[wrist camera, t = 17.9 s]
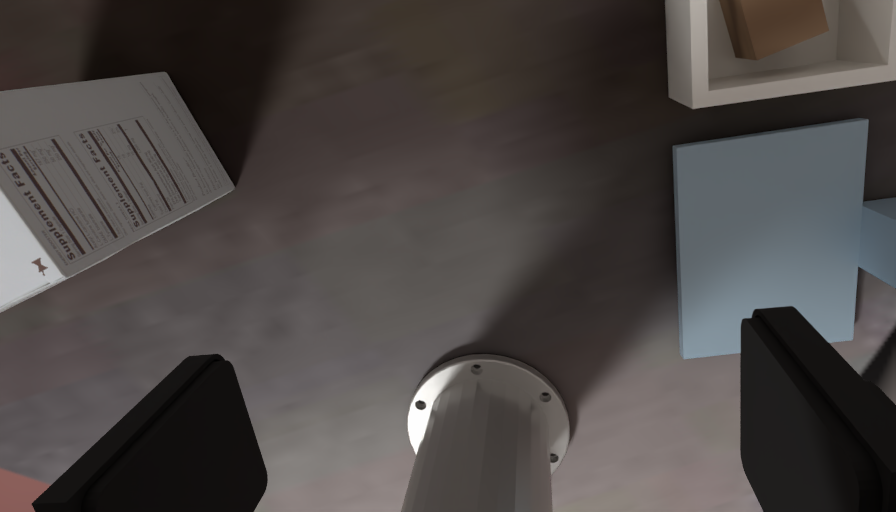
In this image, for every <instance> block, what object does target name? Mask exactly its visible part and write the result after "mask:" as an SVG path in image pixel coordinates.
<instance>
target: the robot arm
mask: <svg viewBox="0 0 896 512" xmlns="http://www.w3.org/2000/svg"><path fill="white" fill-rule="evenodd" d="M475 364H476V365H479V366H476V365H475ZM543 392H547V393H543ZM407 431H408V436H409V440H410V443H411V445H412V448H413V450H414V452H415V454H416V459H415V462H414V466H413V470H412V473H411V477H410V481H409V484H408V488H407V492H406V495H405V499H404V502H403V506H402V510H401V512H552V488H551V475H552V474H553V473H554V472H555V470H556V469H557V468H558V467H559V465H560V464H561V462H562V460H563V458H564V457H565V455H566V453H567V449H568V445H569V440H570V425H569V417H568V412H567V409H566V406H565V403H564V400H563V399H562V397H561V396H560V394H559V392H558V391H557V389H556V388H555V387H554V385H553V384H552V383H551V382H550V381H549V380H548V379H547V378H546V377H545V376H544V375H542V374H541V373H540V372H538V371H537V370H536V369H534V368H533V367H531V366H529V365H527V364H525V363H523V362H521V361H518V360H515V359H512V358H509V357H505V356H500V355H492V354H472V355H467V356H463V357H458V358H455V359H452V360H450V361H448V362H445V363H443V364H441V365H440V366H438V367H437V368H435V369H434V370H432V371H431V372H430V373H429V374H428V375H427V376H426V377H425V378H424V379H423V380H422V381H421V382H420V384H419V385H418V387H417V389H416V390H415V392H414V394H413V397H412V400H411V402H410V406H409V410H408V414H407ZM740 450H741V460H742V464H743V468H744V471H745V474H746V476H747V478H748V480H749V482H750V484H751V487H752V489H753V491H754V493H755V495H756V497H757V499H758V501H759V503H760V505H761V507H762V509H763V511H764V512H896V405H895V404H894V403H893V402H892V401H891V400H890V399H889V398H888V397H887V396H886V395H885V393H884V392H882V390H881V389H880V388H879V387H877V386H876V385H875V384H874V383H872V382H871V381H866V380H863V379H862V377H861V376H860V375H859V374H858V373H857V372H856V371H855V370H854V369H853V368H852V367H851V366H850V365H849V364H848V363H847V362H846V361H845V360H844V359H843V357H842V356H841V355H840V354H839V353H838V352H837V351H836V350H835V349H834V348H833V347H832V346H831V345H830V344H829V343H828V342H827V341H826V340H825V339H824V338H823V336H822V335H821V334H820V333H819V332H818V331H817V330H816V329H815V328H814V327H813V326H812V325H811V324H810V323H809V322H808V321H807V320H806V319H805V318H804V316H803V315H802V314H801V313H800V312H799V311H798V310H797V309H796V308H795V307H793V306H786V307H774V308H762V309H755V310H754V311H753V314H752V318H744V319H743V320H742V322H741V445H740ZM267 480H268V479H267V471H266V468H265V465H264V461H263V458H262V455H261V452H260V449H259V446H258V443H257V439H256V436H255V433H254V430H253V427H252V424H251V421H250V418H249V414H248V411H247V408H246V405H245V402H244V399H243V396H242V393H241V389H240V386H239V383H238V380H237V377H236V374H235V371H234V368H233V365H232V364H231V363H230V362H229V361H225V359H224V358H223V357H222V356H221V355H219V354H211V355H199V356H189V357H187V358H186V359H185V360H183V361H182V362H181V363H180V364H179V365H178V366H177V367H176V368H175V369H174V370H173V371H172V372H171V373H170V374H169V375H168V376H167V377H165V378H164V379H163V380H162V381H161V382H160V383H159V384H158V385H157V386H156V387H155V388H154V389H153V390H152V391H151V392H150V393H148V394H147V395H146V396H145V397H144V398H143V399H142V400H141V401H140V402H139V403H138V404H137V405H136V406H135V407H134V408H133V409H132V410H130V411H129V412H128V413H127V414H126V415H125V416H124V417H123V418H122V419H121V420H120V421H119V422H118V423H117V424H116V425H115V426H113V427H112V428H111V429H110V430H109V431H108V432H107V433H106V434H105V435H104V436H103V437H102V438H101V439H100V440H99V441H98V442H97V443H95V444H94V445H93V446H92V447H91V448H90V449H89V450H88V451H87V452H86V453H85V454H84V455H83V456H82V457H81V458H80V459H79V460H77V461H76V462H75V463H74V464H73V465H72V466H71V467H70V468H69V469H68V470H67V471H66V472H65V473H64V474H63V475H62V476H60V477H59V478H58V479H57V480H56V481H55V482H54V483H53V484H52V485H51V486H50V487H49V488H48V489H47V490H46V491H45V492H44V493H42V494H41V495H40V496H39V497H38V498H37V499H36V500H35V501H34V502H33V503H32V506H33V507H34V510H35V512H254V510H255V508H256V506H257V505H258V503H259V501H260V500H261V498H262V496H263V494H264V492H265V490H266V487H267Z"/></svg>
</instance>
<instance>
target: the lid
mask: <svg viewBox="0 0 896 512" xmlns="http://www.w3.org/2000/svg"><path fill="white" fill-rule="evenodd" d="M868 123H869V119H864V118H855V119H849V120H842V121H835V122H828V123H822V124H815V125H808V126H801V127H795V128H788V129H781V130H775V131H768V132H761V133H754V134H748V135H741V136H734V137H727V138H721V139H714V140H707V141H700V142H694V143H687V144H680V145H674V146H672V147H673V175H674V202H675V230H676V258H677V286H678V314H679V342H680V354H681V356H682V358H683V359H690V358H699V357H708V356H717V355H726V354H734V353H741V322H742V320H743V319H744V318H752V314H753V311H754V310H755V309H762V308H774V307H786V306H793V307H795V308H796V309H797V310H798V311H799V312H800V313H801V314H802V315H803V316H804V318H805V319H806V320H807V321H808V322H809V323H810V324H811V325H812V326H813V327H814V328H815V329H816V330H817V331H818V332H819V333H820V334H821V335H822V336H823V338H824V339H825V340H826V341H827V342H828V343H831V342H840V341H848V340H853V332H854V318H855V304H856V290H857V276H858V267H860V268H862V269H864V270H865V271H867V272H869V273H870V274H872V275H874V276H875V277H877V278H879V279H880V280H882V281H884V282H885V283H887V284H889V285H890V286H892V287H894V288H896V197H894V198H887V199H879V200H872V201H864V202H863V193H864V179H865V165H866V151H867V137H868Z"/></svg>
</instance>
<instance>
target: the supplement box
mask: <svg viewBox="0 0 896 512" xmlns="http://www.w3.org/2000/svg"><path fill="white" fill-rule="evenodd" d="M234 188H235V187H234V185H233V183H232V181H231V180H230V178H229V176H228V175H227V173H226V171H225V170H224V168H223V166H222V165H221V163H220V161H219V160H218V158H217V156H216V155H215V153H214V151H213V150H212V148H211V146H210V145H209V143H208V141H207V140H206V138H205V136H204V135H203V133H202V131H201V130H200V128H199V126H198V125H197V123H196V121H195V120H194V118H193V116H192V115H191V113H190V111H189V109H188V108H187V106H186V104H185V103H184V101H183V99H182V98H181V96H180V95H179V93H178V91H177V89H176V88H175V86H174V84H173V83H172V81H171V79H170V77H169V76H168V74H167V73H166V72H158V73H149V74H141V75H133V76H124V77H116V78H108V79H100V80H92V81H83V82H75V83H67V84H58V85H50V86H42V87H33V88H24V89H16V90H8V91H0V313H1V312H3V311H5V310H7V309H9V308H11V307H13V306H15V305H17V304H19V303H21V302H23V301H25V300H27V299H29V298H31V297H33V296H35V295H37V294H39V293H41V292H43V291H45V290H47V289H49V288H51V287H53V286H55V285H57V284H59V283H61V282H62V281H64V280H66V279H68V278H70V277H72V276H74V275H76V274H78V273H80V272H82V271H84V270H86V269H88V268H90V267H92V266H93V265H95V264H97V263H99V262H101V261H103V260H105V259H107V258H109V257H110V256H112V255H114V254H115V253H117V252H119V251H121V250H122V249H124V248H126V247H127V246H129V245H131V244H133V243H135V242H137V241H139V240H141V239H143V238H145V237H147V236H149V235H150V234H152V233H154V232H156V231H158V230H160V229H162V228H164V227H166V226H168V225H170V224H172V223H174V222H176V221H178V220H180V219H182V218H183V217H185V216H187V215H189V214H191V213H193V212H195V211H197V210H199V209H200V208H202V207H204V206H206V205H207V204H209V203H211V202H213V201H215V200H216V199H218V198H220V197H222V196H224V195H226V194H227V193H229V192H231V191H232V190H233V189H234Z"/></svg>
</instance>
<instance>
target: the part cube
mask: <svg viewBox="0 0 896 512" xmlns="http://www.w3.org/2000/svg"><path fill="white" fill-rule="evenodd" d="M719 2H720V5H721V9H722V12H723V16H724V19H725V23H726V26H727V29H728V33H729V36H730V40H731V43H732V47H733V50H734V54H735V57H736V58H742V59H750V60H759V59H762V58H764V57H767V56H769V55H771V54H774V53H776V52H779V51H781V50H784V49H786V48H788V47H791V46H793V45H796V44H798V43H801V42H803V41H805V40H808V39H810V38H813V37H815V36H818V35H820V34H822V33H825V32H827V31H829V28H828V24H827V20H826V16H825V12H824V7H823V3H822V0H719Z"/></svg>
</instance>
